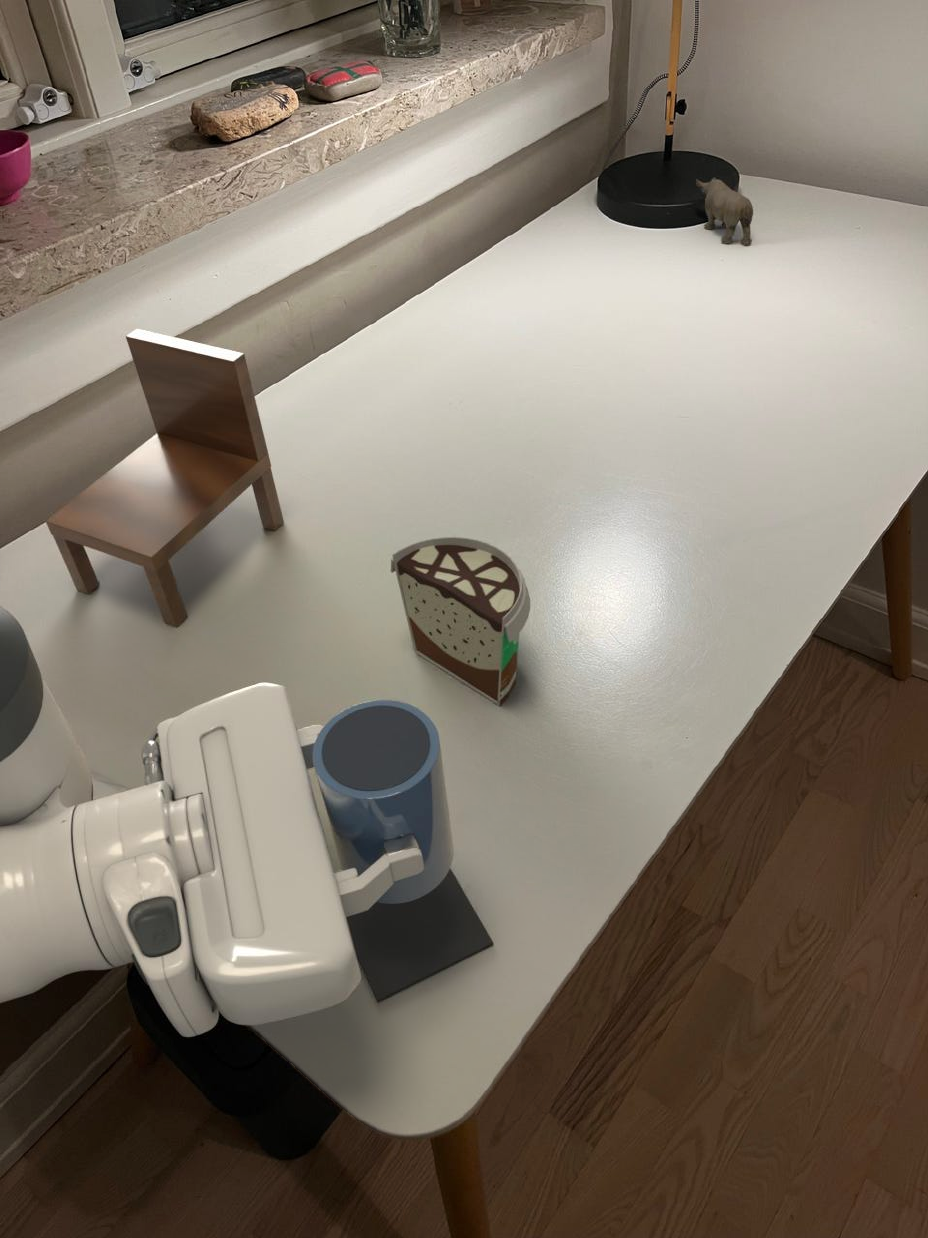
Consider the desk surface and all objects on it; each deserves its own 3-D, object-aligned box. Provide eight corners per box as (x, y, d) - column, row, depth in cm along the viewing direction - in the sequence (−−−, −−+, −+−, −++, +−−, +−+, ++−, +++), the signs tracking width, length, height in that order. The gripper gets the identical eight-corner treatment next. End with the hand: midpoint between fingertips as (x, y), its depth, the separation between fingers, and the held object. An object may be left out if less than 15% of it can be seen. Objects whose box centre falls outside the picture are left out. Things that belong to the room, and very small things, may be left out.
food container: (564, 670, 82) (564, 576, 75) (514, 716, 79) (508, 621, 72) (452, 604, 88) (443, 512, 82) (401, 644, 85) (387, 551, 78)
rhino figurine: (707, 206, 145) (711, 162, 141) (757, 244, 135) (763, 198, 131) (681, 212, 144) (684, 168, 140) (729, 250, 134) (734, 204, 130)
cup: (322, 889, 60) (291, 783, 53) (365, 797, 65) (341, 689, 58) (432, 916, 58) (414, 810, 51) (468, 820, 63) (456, 710, 56)
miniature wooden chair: (177, 628, 89) (113, 454, 76) (75, 590, 93) (0, 420, 81) (285, 522, 99) (244, 353, 86) (188, 492, 103) (136, 328, 91)
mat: (378, 1003, 63) (377, 1000, 63) (331, 901, 68) (330, 898, 68) (493, 945, 65) (493, 942, 65) (439, 851, 71) (438, 848, 70)
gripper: (153, 762, 65) (364, 703, 67) (190, 1070, 51) (458, 980, 53) (123, 695, 61) (351, 634, 63) (154, 1010, 46) (448, 915, 49)
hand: (400, 794), depth 58 cm, fingers closed on cup, 7 cm apart
